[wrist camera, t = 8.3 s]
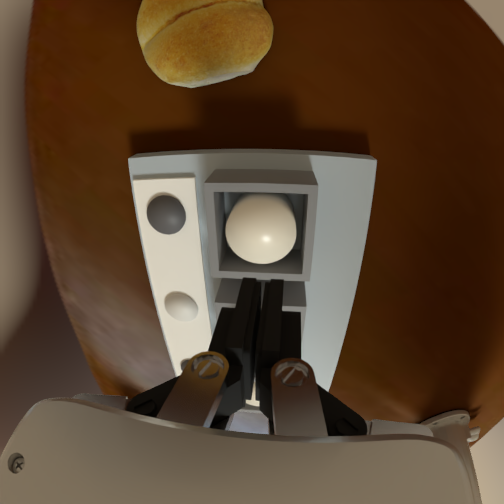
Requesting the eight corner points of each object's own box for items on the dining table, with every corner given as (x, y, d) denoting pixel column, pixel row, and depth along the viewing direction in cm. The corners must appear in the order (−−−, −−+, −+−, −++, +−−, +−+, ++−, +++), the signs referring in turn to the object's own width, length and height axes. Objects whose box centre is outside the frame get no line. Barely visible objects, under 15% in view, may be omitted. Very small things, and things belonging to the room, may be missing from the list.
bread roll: (251, -43, 12) (243, -69, 9) (283, 68, 16) (284, 62, 13) (135, -6, 14) (107, -19, 10) (161, 100, 18) (136, 104, 14)
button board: (370, 155, 18) (392, 172, 14) (326, 384, 30) (328, 418, 26) (137, 153, 20) (105, 170, 16) (182, 375, 32) (172, 407, 28)
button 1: (296, 187, 18) (298, 201, 16) (293, 245, 20) (294, 265, 18) (231, 185, 18) (223, 199, 16) (233, 242, 20) (227, 262, 18)
